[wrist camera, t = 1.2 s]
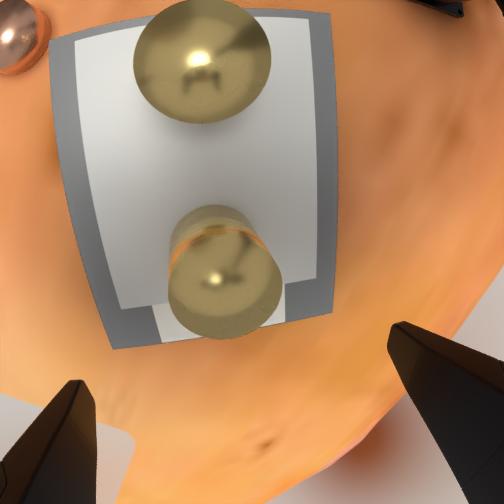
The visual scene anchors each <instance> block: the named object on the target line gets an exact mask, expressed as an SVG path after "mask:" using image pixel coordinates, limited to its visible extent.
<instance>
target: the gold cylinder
mask: <svg viewBox="0 0 504 504" xmlns="http://www.w3.org/2000/svg"><path fill="white" fill-rule="evenodd" d="M282 285H283V283H282V276H281V272H280V270H279V267H278V265H277V264H276V262H275V260H274V259H273V257H272V256H271V254H270V253H269V251H268V249H267V248H266V246H265V245H264V243H263V242H262V240H261V239H260V237H259V235H258V234H257V232H256V231H255V229H254V228H253V226H252V225H251V223H250V221H249V220H248V219H247V218H246V217H245V216H244V215H243V214H242V213H240V212H239V211H237V210H235V209H233V208H231V207H228V206H223V205H206V206H202V207H199V208H196V209H194V210H192V211H191V212H189V213H188V214H186V215H185V216H184V217H183V218H182V219H181V220H180V221H179V222H178V223H177V225H176V226H175V228H174V230H173V232H172V235H171V238H170V246H169V271H168V300H169V304H170V308H171V310H172V312H173V314H174V316H175V317H176V319H177V320H178V321H179V322H180V323H181V324H182V325H183V326H184V327H185V328H186V329H188V330H189V331H191V332H193V333H195V334H197V335H200V336H203V337H206V338H211V339H230V338H236V337H240V336H243V335H246V334H248V333H250V332H252V331H254V330H255V329H257V328H259V327H260V326H261V325H263V324H264V323H265V322H266V321H267V320H268V319H269V318H270V317H271V315H272V314H273V313H274V311H275V310H276V308H277V306H278V304H279V301H280V298H281V294H282Z"/></svg>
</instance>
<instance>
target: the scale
mask: <svg viewBox="0 0 504 504" xmlns="http://www.w3.org/2000/svg"><path fill="white" fill-rule="evenodd" d="M244 10H245V11H247V12H248V13H249V14H251V15H252V16H253V17H254V18H255V19H256V20H257V22H258V23H259V24H260V25H261V27H262V28H263V30H264V31H265V34H266V36H267V38H268V41H269V44H270V49H271V69H270V74H269V77H268V80H267V82H266V85H265V87H264V88H263V90H262V92H261V93H260V94H259V96H258V97H257V98H256V99H255V101H254V102H253V103H251V104H250V105H249V106H248V107H247V108H246V109H244V110H243V111H242V112H240V113H238V114H236V115H235V116H232V117H230V118H228V119H225V120H222V121H218V122H213V123H206V124H194V123H186V122H181V121H178V120H175V119H172V118H170V117H168V116H166V115H164V114H162V113H161V112H159V111H158V110H156V109H155V108H154V107H153V106H152V105H150V103H149V102H148V101H147V100H146V99H145V98H144V96H143V95H142V93H141V92H140V90H139V87H138V85H137V83H136V80H135V76H134V70H133V56H134V50H135V47H136V44H137V41H138V39H139V37H140V35H141V33H142V31H143V30H144V28H145V27H146V26H147V24H148V23H149V22H150V21H151V20H152V19H153V18H154V17H155V16H156V15H154V16H148V17H142V18H136V19H130V20H125V21H120V22H115V23H111V24H106V25H102V26H98V27H94V28H90V29H86V30H82V31H79V32H75V33H72V34H68V35H65V36H62V37H59V38H56V39H53V40H50V41H49V69H50V86H51V99H52V110H53V119H54V127H55V135H56V142H57V149H58V156H59V162H60V168H61V173H62V179H63V184H64V189H65V194H66V198H67V203H68V208H69V212H70V216H71V220H72V225H73V229H74V233H75V236H76V240H77V244H78V248H79V251H80V255H81V258H82V262H83V265H84V269H85V272H86V275H87V278H88V282H89V285H90V288H91V291H92V294H93V297H94V300H95V303H96V306H97V309H98V311H99V314H100V317H101V320H102V322H103V325H104V328H105V331H106V333H107V336H108V338H109V341H110V343H111V346H112V348H113V349H122V348H131V347H139V346H147V345H155V344H163V343H170V342H177V341H184V340H191V339H197V338H203V336H200V335H197V334H195V333H193V332H191V331H189V330H188V329H186V328H185V327H184V326H183V325H182V324H181V323H180V322H179V321H178V320H177V319H176V317H175V316H174V314H173V312H172V310H171V308H170V304H169V300H168V271H169V246H170V238H171V235H172V232H173V230H174V228H175V226H176V225H177V223H178V222H179V221H180V220H181V219H182V218H183V217H184V216H185V215H186V214H188V213H189V212H191V211H192V210H194V209H196V208H199V207H202V206H206V205H223V206H228V207H231V208H233V209H235V210H237V211H239V212H240V213H242V214H243V215H244V216H245V217H246V218H247V219H248V220H249V221H250V223H251V225H252V226H253V228H254V229H255V231H256V232H257V234H258V235H259V237H260V239H261V240H262V242H263V243H264V245H265V246H266V248H267V249H268V251H269V253H270V254H271V256H272V257H273V259H274V260H275V262H276V264H277V265H278V267H279V270H280V272H281V276H282V283H283V285H282V294H281V298H280V301H279V304H278V306H277V308H276V310H275V311H274V313H273V314H272V315H271V317H270V318H269V319H268V320H267V321H266V322H265V323H264V324H263V325H261V326H260V327H259V328H261V327H266V326H271V325H276V324H281V323H286V322H291V321H296V320H301V319H305V318H310V317H315V316H319V315H324V314H328V313H332V310H333V297H334V282H335V265H336V245H337V215H338V131H337V102H336V82H335V66H334V53H333V41H332V30H331V20H330V13H321V12H311V11H300V10H285V9H244Z"/></svg>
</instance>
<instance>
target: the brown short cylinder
mask: <svg viewBox="0 0 504 504" xmlns="http://www.w3.org/2000/svg"><path fill="white" fill-rule="evenodd" d="M50 38H51V23H50V20H49V18H48V17H47V16H46V15H45V14H44V13H43V12H41V11H40V10H38V9H37V8H35V7H34V6H32V5H31V4H29V3H28V2H26V1H25V0H4V1H1V2H0V73H2V74H8V75H16V74H20V73H23V72H25V71H27V70H28V69H30V68H31V67H33V66H34V65H35V64H36V63H37V62H38V61H39V60H40V58H41V57H42V56H43V54H44V53H45V51H46V49H47V47H48V44H49V41H50Z"/></svg>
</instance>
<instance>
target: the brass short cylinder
mask: <svg viewBox="0 0 504 504" xmlns="http://www.w3.org/2000/svg"><path fill="white" fill-rule="evenodd" d="M270 69H271V49H270V44H269V41H268V38H267V36H266V34H265V31H264V30H263V28H262V27H261V25H260V24H259V23H258V22H257V20H256V19H255V18H254V17H253V16H252V15H251V14H249V13H248V12H247V11H245V10H244V9H242V8H241V7H239V6H237V5H235V4H232V3H230V2H227V1H223V0H186V1H182V2H179V3H177V4H174V5H172V6H170V7H168V8H166V9H164V10H163V11H162V12H160V13H159V14H157V15H156V16H155V17H154V18H153V19H152V20H151V21H150V22H149V23H148V24H147V26H146V27H145V28H144V30H143V31H142V33H141V35H140V37H139V39H138V41H137V44H136V47H135V50H134V56H133V70H134V76H135V80H136V83H137V85H138V87H139V90H140V92H141V93H142V95H143V96H144V98H145V99H146V100H147V101H148V102H149V103H150V105H152V106H153V107H154V108H155V109H156V110H158V111H159V112H161V113H162V114H164V115H166V116H168V117H170V118H172V119H175V120H178V121H181V122H186V123H194V124H206V123H213V122H218V121H222V120H225V119H228V118H230V117H232V116H235V115H236V114H238V113H240V112H242V111H243V110H244V109H246V108H247V107H248V106H249V105H250V104H251V103H253V102H254V101H255V99H256V98H257V97H258V96H259V94H260V93H261V92H262V90H263V88H264V87H265V85H266V82H267V80H268V77H269V74H270Z"/></svg>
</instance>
